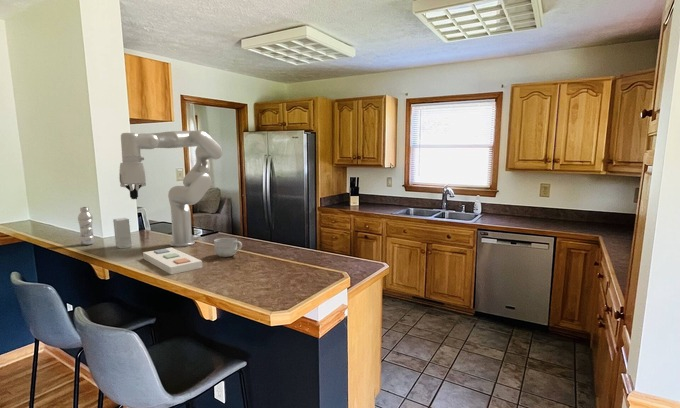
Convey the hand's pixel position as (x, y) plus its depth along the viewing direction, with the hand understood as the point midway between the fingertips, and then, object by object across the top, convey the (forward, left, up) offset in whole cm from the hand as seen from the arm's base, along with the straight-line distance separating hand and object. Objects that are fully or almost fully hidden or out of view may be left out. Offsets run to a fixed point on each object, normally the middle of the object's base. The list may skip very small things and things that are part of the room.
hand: (134, 198), depth 170 cm
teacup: (-30, +32, -27) cm, 52 cm away
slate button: (-6, +14, -25) cm, 30 cm away
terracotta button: (-6, +36, -26) cm, 45 cm away
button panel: (-6, +25, -27) cm, 37 cm away
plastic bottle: (+12, -40, -27) cm, 50 cm away
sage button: (-6, +25, -25) cm, 36 cm away
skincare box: (0, -22, -27) cm, 35 cm away
